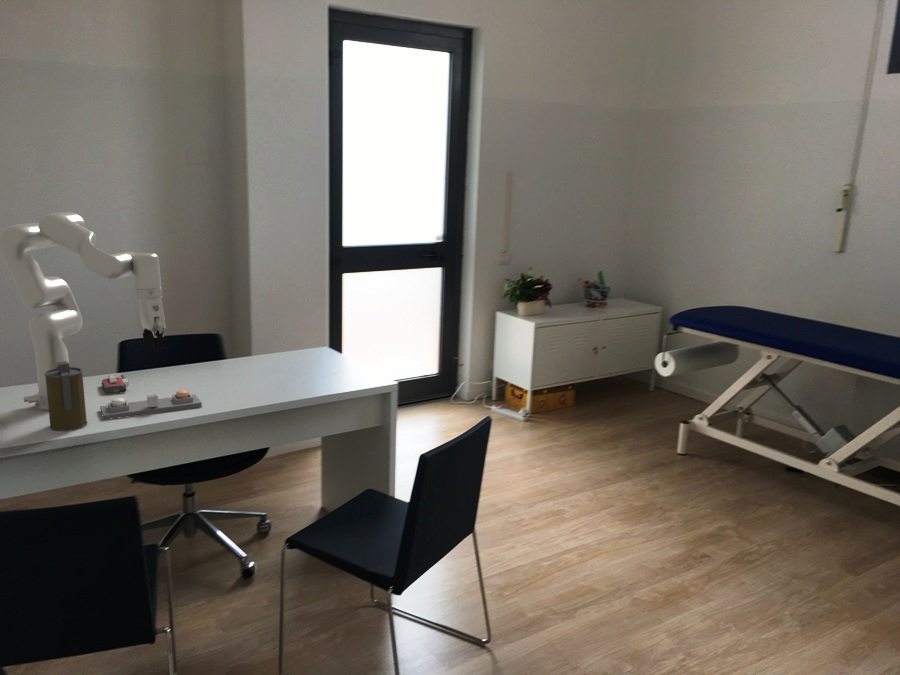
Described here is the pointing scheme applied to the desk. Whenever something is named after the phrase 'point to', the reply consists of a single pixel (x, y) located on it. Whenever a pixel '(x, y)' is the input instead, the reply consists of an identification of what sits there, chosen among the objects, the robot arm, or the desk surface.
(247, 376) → the desk surface
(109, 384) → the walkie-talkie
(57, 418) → the canister
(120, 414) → the panel
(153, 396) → the lever
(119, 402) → the button left
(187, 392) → the button right
